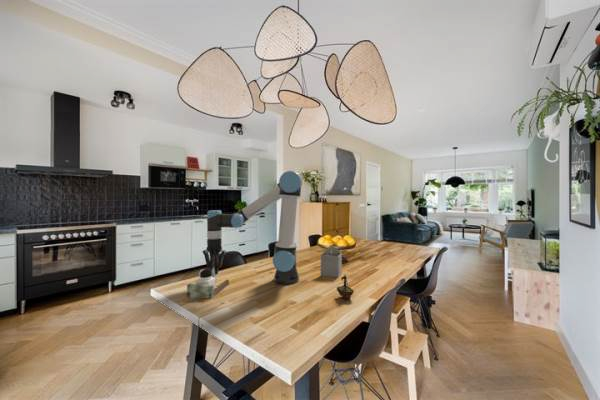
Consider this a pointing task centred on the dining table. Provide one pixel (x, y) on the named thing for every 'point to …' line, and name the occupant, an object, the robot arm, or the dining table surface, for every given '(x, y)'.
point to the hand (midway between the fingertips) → (214, 280)
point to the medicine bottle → (206, 277)
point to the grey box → (331, 262)
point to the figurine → (345, 289)
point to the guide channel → (204, 290)
